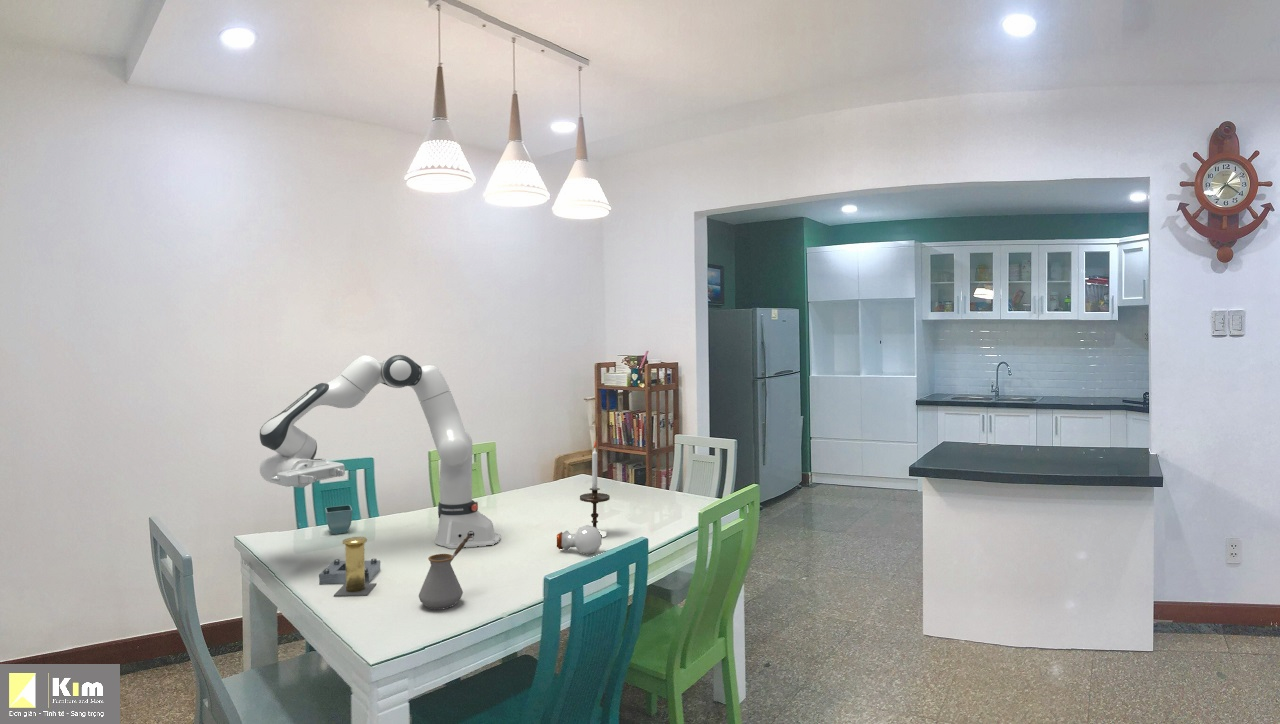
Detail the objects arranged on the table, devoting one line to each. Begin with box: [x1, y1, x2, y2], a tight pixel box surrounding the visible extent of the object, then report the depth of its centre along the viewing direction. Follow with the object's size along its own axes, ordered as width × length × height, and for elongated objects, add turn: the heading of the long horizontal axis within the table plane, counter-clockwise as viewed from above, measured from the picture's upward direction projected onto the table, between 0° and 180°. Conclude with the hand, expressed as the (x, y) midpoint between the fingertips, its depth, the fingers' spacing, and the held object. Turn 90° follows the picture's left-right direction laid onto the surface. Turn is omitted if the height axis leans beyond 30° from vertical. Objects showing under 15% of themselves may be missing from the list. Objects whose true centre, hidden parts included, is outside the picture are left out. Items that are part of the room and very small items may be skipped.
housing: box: [318, 558, 381, 585], centre depth 213 cm, size 14×12×4 cm
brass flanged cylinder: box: [342, 536, 368, 592], centre depth 202 cm, size 6×6×14 cm
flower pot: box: [324, 504, 353, 535], centre depth 262 cm, size 9×9×9 cm
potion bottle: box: [556, 524, 603, 556], centre depth 239 cm, size 9×10×15 cm
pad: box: [333, 582, 377, 598], centre depth 202 cm, size 9×9×1 cm
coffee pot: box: [418, 535, 474, 610], centre depth 196 cm, size 21×12×15 cm, turn 163°
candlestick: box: [579, 439, 611, 529], centre depth 259 cm, size 11×11×35 cm
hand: (328, 476), depth 216 cm, fingers open, 8 cm apart
